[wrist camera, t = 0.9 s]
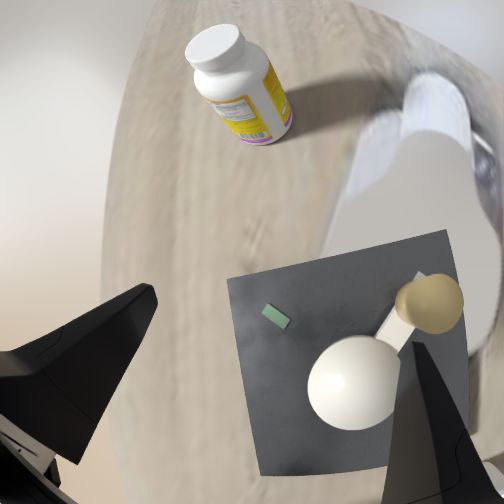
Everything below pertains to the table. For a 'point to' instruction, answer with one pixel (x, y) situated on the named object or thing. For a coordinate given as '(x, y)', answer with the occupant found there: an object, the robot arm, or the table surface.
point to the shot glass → (495, 477)
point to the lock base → (320, 338)
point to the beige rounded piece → (379, 355)
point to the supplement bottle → (239, 84)
